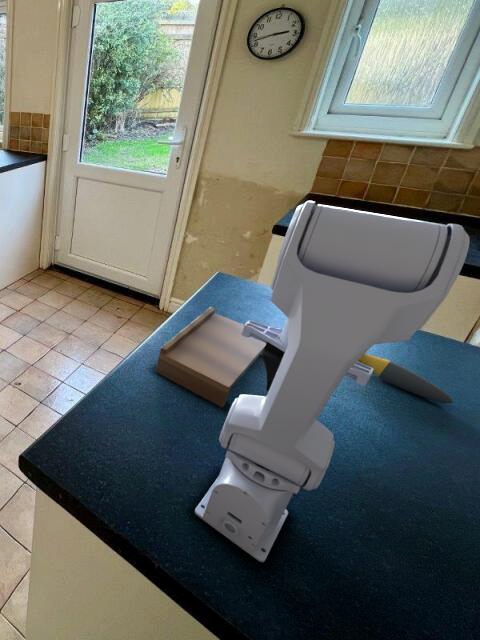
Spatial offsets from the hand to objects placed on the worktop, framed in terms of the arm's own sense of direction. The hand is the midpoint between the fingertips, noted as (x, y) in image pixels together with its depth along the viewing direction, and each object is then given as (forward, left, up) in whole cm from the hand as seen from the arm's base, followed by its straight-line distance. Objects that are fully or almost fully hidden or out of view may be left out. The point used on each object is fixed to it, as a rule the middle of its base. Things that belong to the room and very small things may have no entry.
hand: (283, 394), depth 62 cm
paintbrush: (+32, -8, -9) cm, 34 cm away
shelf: (+12, +13, -8) cm, 19 cm away
